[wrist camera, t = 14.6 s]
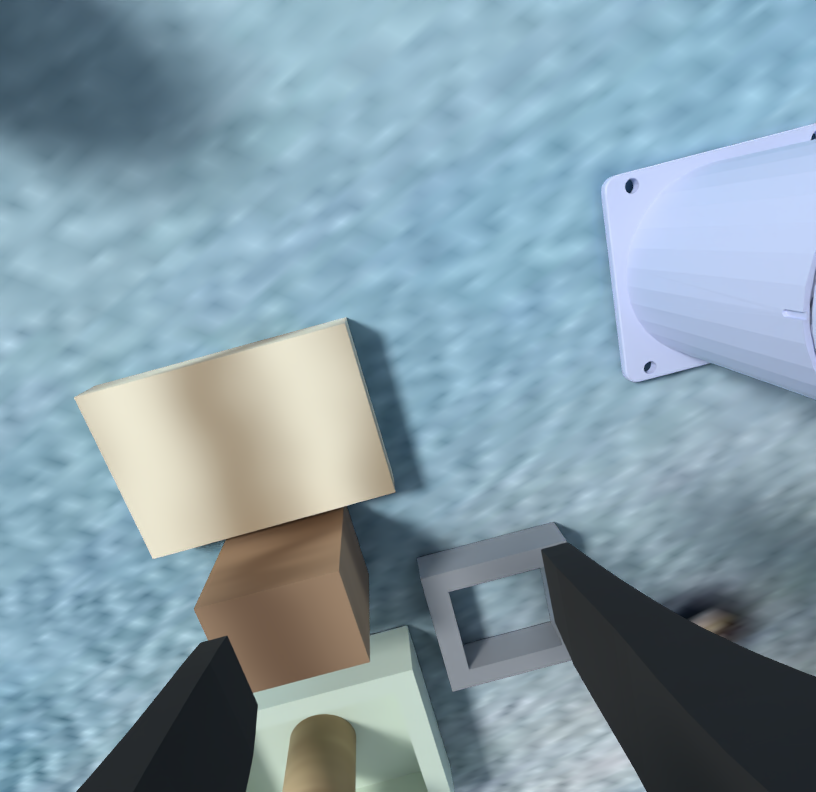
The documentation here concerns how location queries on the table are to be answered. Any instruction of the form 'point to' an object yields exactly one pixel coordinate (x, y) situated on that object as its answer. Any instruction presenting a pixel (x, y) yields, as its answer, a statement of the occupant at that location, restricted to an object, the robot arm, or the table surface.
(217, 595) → the brown block
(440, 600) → the dowel socket
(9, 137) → the table surface
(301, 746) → the dowel
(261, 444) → the cream flat block
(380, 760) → the tray
